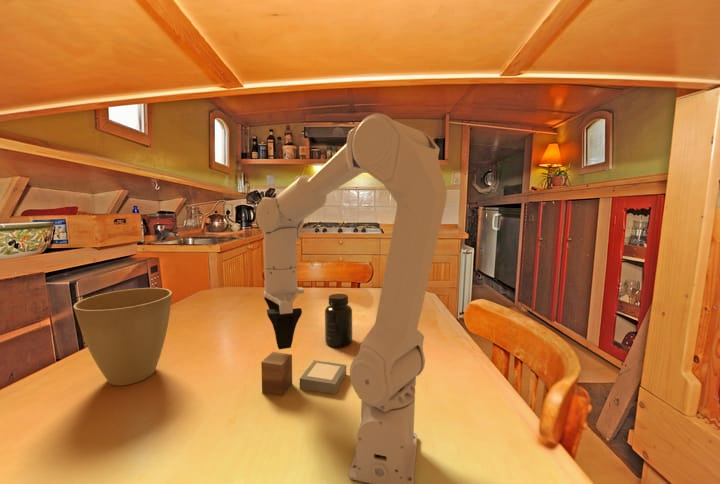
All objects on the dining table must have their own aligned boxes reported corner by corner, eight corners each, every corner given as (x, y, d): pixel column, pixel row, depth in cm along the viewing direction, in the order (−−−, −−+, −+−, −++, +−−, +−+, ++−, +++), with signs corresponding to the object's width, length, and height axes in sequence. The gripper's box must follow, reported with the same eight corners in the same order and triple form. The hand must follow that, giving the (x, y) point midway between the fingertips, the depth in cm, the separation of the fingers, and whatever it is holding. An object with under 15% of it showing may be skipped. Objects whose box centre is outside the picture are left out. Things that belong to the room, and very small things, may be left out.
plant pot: (187, 354, 69) (183, 286, 67) (155, 394, 54) (149, 308, 52) (113, 359, 66) (107, 288, 64) (58, 402, 52) (49, 312, 50)
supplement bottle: (340, 334, 81) (340, 290, 79) (357, 342, 76) (358, 296, 75) (319, 342, 76) (319, 295, 75) (336, 351, 71) (337, 302, 70)
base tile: (335, 394, 55) (335, 383, 54) (299, 388, 56) (299, 378, 56) (346, 374, 61) (346, 364, 61) (314, 369, 63) (314, 359, 63)
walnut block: (282, 396, 54) (281, 365, 53) (262, 393, 55) (261, 362, 54) (292, 384, 58) (291, 354, 57) (273, 381, 59) (272, 351, 58)
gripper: (311, 273, 49) (311, 353, 50) (297, 258, 62) (297, 322, 64) (265, 276, 46) (267, 360, 48) (261, 260, 60) (262, 326, 61)
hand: (282, 338), depth 56 cm, fingers open, 7 cm apart
